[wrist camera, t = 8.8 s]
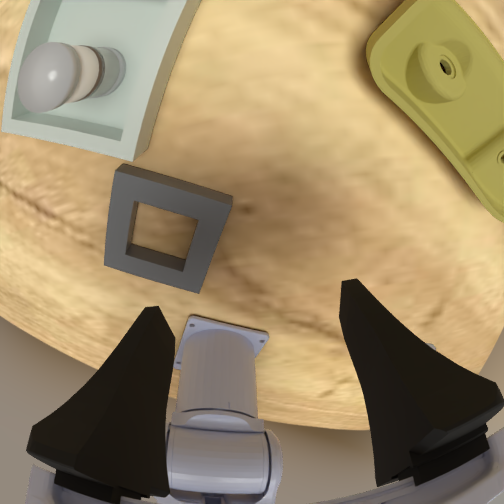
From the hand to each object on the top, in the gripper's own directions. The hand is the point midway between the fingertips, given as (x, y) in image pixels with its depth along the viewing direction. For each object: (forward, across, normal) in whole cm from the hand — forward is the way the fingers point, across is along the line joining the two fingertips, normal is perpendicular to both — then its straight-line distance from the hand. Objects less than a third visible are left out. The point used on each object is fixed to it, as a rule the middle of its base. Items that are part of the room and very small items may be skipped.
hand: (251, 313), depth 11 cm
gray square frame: (+10, +6, +1) cm, 12 cm away
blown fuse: (+10, +7, -11) cm, 17 cm away
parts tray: (+10, +8, -13) cm, 18 cm away
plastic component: (+11, -18, -6) cm, 22 cm away
